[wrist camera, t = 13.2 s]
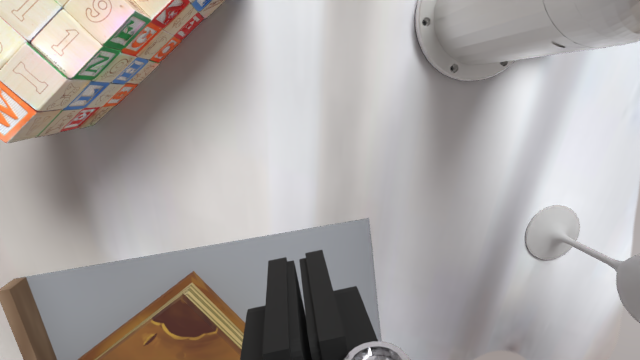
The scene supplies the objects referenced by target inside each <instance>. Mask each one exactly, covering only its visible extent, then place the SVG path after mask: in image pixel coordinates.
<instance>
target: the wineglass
mask: <svg viewBox="0 0 640 360" xmlns="http://www.w3.org/2000/svg"><path fill="white" fill-rule="evenodd" d="M579 231H580V224H579V219H578V217H577V215H576V213H575V212H574V211H573V210H571V209H570V208H568V207H566V206H561V205H553V206H550V207H546V208H545V209H543V210H541V211H540V212H538V213H537V214H536V215H535V216H534V217H533V218H532V220H531V221H530V223H529V225H528V227H527V230H526V234H525V242H526V246H527V248H528V250H529V252H531V253H532V254H533V255H534V256H535V257H537V258H539V259H544V260H552V259H555V258H559V257H560V256H562V255H564V254H565V253H567V252H568V251H569V250H570V249H571V248H572V246H573V247H575V248H577V249H579V250H581V251H583V252H585V253H586V254H588V255H590V256H592V257H594V258H596V259H598V260H600V261H602V262H604V263H606V264H608V265H609V266H611V267H612V268H614V269H615V270H616V272H617V275H616V285H617V291H618V294H619V297H620V300H621V302H622V304H623V306H624V307H625V308H626V310H627V311H628V312H629V313H630V314H631V316H632V317H633V318H635V320H637V321H638V322H639V323H640V254H638V255H635V256H633V257H631V258H629V259H627V260H626V261H618V260H615V259H612V258H610V257H608V256H606V255H603V254H601V253H599V252H597V251H595V250H593V249H591V248H589V247H587V246H585V245H583V244H581V243H579V242H577V241H576V240H577V238H578V235H579Z"/></svg>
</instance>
